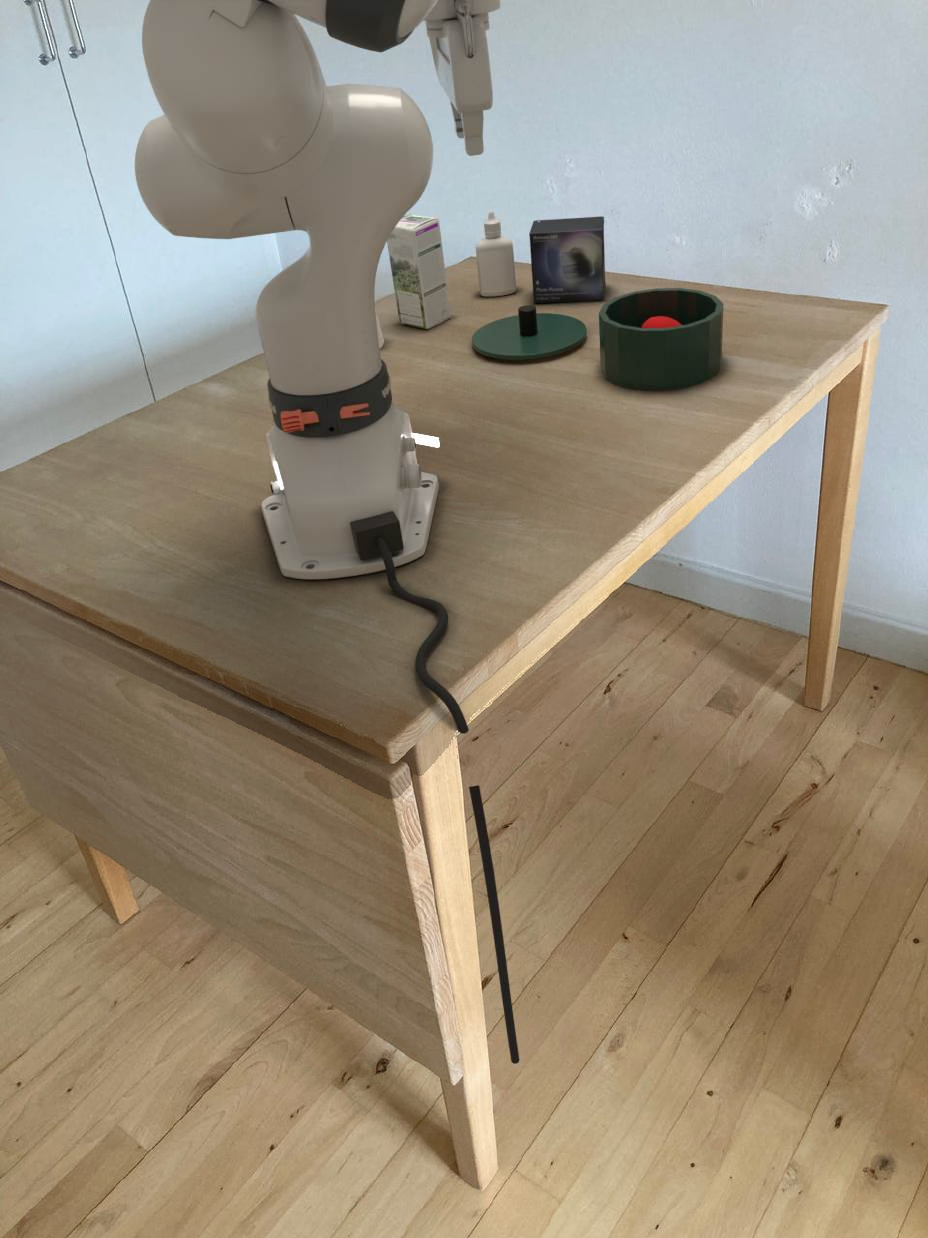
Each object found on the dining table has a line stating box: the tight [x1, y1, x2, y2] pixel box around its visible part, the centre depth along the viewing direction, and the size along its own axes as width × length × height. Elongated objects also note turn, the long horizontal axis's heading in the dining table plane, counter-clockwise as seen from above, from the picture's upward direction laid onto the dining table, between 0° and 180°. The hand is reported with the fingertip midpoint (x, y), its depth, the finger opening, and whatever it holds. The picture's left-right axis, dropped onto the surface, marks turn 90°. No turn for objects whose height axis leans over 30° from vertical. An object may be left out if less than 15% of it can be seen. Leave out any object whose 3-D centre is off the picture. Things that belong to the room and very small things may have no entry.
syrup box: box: [386, 214, 452, 330], centre depth 148 cm, size 6×6×14 cm
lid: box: [471, 304, 588, 361], centre depth 140 cm, size 16×16×5 cm
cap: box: [642, 316, 682, 328], centre depth 127 cm, size 8×6×6 cm
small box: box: [528, 216, 607, 304], centre depth 152 cm, size 11×6×10 cm, turn 81°
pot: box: [598, 287, 725, 392], centre depth 127 cm, size 15×15×8 cm
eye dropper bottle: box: [475, 211, 517, 298], centre depth 156 cm, size 4×6×12 cm
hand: (469, 144), depth 110 cm, fingers open, 8 cm apart
